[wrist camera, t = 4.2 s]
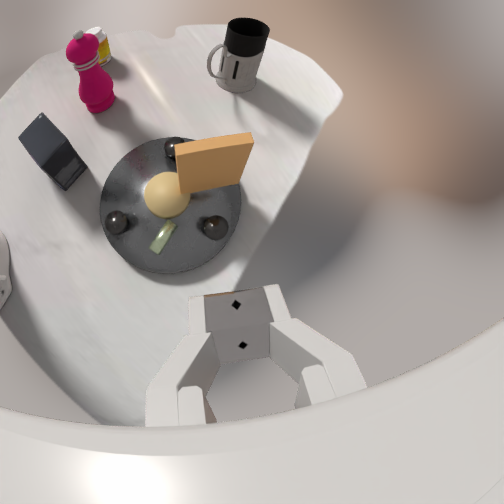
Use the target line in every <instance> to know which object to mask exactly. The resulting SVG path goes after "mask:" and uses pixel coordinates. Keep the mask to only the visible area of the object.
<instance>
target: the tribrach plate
mask: <svg viewBox="0 0 504 504" xmlns="http://www.w3.org/2000/svg"><path fill="white" fill-rule="evenodd" d="M191 141H196V140H192V139H188V138H180V137H168V138H161V139H157V140H153V141H150V142H147V143H145V144H142V145H140V146H138V147H137V148H135V149H133V150H132V151H130V152H129V153H128V154H127V155H125V156H124V157H123V158H122V159H121V160H120V161H119V162H118V163H117V164H116V166H115V167H114V168H113V170H112V171H111V173H110V174H109V176H108V178H107V180H106V182H105V185H104V187H103V191H102V195H101V201H100V217H101V223H102V226H103V230H104V232H105V235H106V237H107V239H108V241H109V242H110V244H111V245H112V247H113V248H114V249H115V250H116V251H117V252H118V254H120V255H121V256H122V257H123V258H124V259H125V260H127V261H129V262H130V263H132V264H133V265H135V266H137V267H139V268H142V269H144V270H147V271H150V272H154V273H162V274H173V273H180V272H185V271H188V270H192V269H194V268H196V267H199V266H201V265H202V264H204V263H206V262H207V261H209V260H210V259H212V258H213V257H214V256H215V255H217V254H218V252H219V251H220V250H221V249H222V248H223V247H224V246H225V244H226V243H227V242H228V240H229V239H230V237H231V235H232V233H233V231H234V229H235V227H236V224H237V222H238V218H239V214H240V208H241V193H240V187H239V184H234V185H228V186H223V187H218V188H213V189H208V190H204V191H199V192H194V193H190V202H189V205H188V207H187V209H186V210H185V211H184V212H183V213H182V214H181V215H179V216H178V217H175V218H172V219H161V218H158V217H156V216H155V215H153V214H152V213H151V212H150V210H149V209H148V207H147V205H146V202H145V199H144V191H145V187H146V185H147V184H148V182H149V181H150V180H151V179H152V178H153V177H154V176H156V175H157V174H160V173H163V172H175V173H177V165H176V156H175V147H174V145H175V144H180V143H185V142H191Z"/></svg>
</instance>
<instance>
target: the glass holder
mask: <svg viewBox="0 0 504 504" xmlns="http://www.w3.org/2000/svg"><path fill="white" fill-rule="evenodd" d="M269 31H270V29H269V27H268V26H267V25H266V24H265V23H263V22H261V21H258V20H256V19H252V18H236V19H233V20H231V21H230V22H229V23H228V27H227V32H226V37H225V41H224V43H223V44H220V45H217V46H216V47H215V48H213V50H212V51H211V52H210V54H209V56H208V60H207V69H208V72H209V74H210V75H211V76H212V77H214V78H216V82H217V84H218V85H219V86H220V87H221V88H222V89H224V90H226V91H229V92H234V93H243V92H247V91H250V90H251V89H253V88H254V86H255V84H256V78H255V77H256V74H257V71H258V68H259V65H260V62H261V59H262V56H263V53H264V49H265V45H266V41H267V38H268V34H269ZM221 47H223V49H222V55H221V60H220V67H219V72H218V73H217V75H216V76H215V75H214V74H213V73H212V71H211V60H212V57H213V55H214V53H215V52H216V51H217V50H218V49H219V48H221Z"/></svg>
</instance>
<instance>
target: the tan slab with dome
mask: <svg viewBox="0 0 504 504" xmlns="http://www.w3.org/2000/svg"><path fill="white" fill-rule="evenodd" d="M253 144H254V140H253V137H252V135H251V132H249V133H241V134H234V135H226V136H220V137H213V138H207V139H202V140H196V141H191V142H185V143H180V144H175V145H174V147H175V156H176V165H177V173H175V172H163V173H160V174H157V175H156V176H154V177H153V178H152V179H151V180H150V181H149V182H148V184H147V185H146V187H145V191H144V199H145V202H146V205H147V207H148V209H149V210H150V212H151V213H152V214H153V215H155V216H156V217H158V218H161V219H172V218H175V217H178V216H179V215H181V214H182V213H183V212H184V211H185V210H186V209H187V207H188V205H189V202H190V193H194V192H199V191H204V190H208V189H213V188H218V187H223V186H228V185H234V184H239V181H240V178H241V176H242V173H243V170H244V168H245V165H246V162H247V160H248V157H249V155H250V152H251V149H252V147H253Z"/></svg>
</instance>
